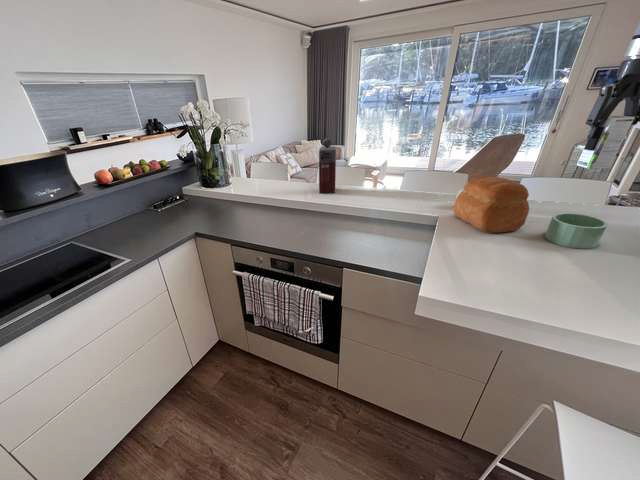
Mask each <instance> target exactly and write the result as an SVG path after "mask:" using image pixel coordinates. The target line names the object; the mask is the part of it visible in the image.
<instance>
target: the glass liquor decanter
mask: <svg viewBox="0 0 640 480" xmlns="http://www.w3.org/2000/svg"><path fill="white" fill-rule="evenodd" d="M322 143H323V144H322V145H323V146H320V147H319V148H318V194H319V195H321V194H322V195H323V194H336V176H337V175H336V174H337V173H336V171H337V169H336V168H337V165H336V164H337V148H336V146H335V145H334V146H333V145H332V140H331V138H324V140H323V141H322Z"/></svg>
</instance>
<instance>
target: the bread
mask: <svg viewBox="0 0 640 480" xmlns="http://www.w3.org/2000/svg"><path fill="white" fill-rule="evenodd" d="M463 188H464V190H463V191H462V192H461V193H460V194H459V196H458V197H457V199H456V201H455V200H454V204H453V214H454V215H455V216H456V217H457V218H459V219H460V220H463V221H464V222H465V223H468V224H470V225H471V226H472V227H473V228H476V229H478V230H479V231H482V232H485V233H491V234H492V233H493V234H496V233H509V232H513V231H518V230H520V229H521V228H523V226H524V225H525V223H526V221H527V218H528V215H529V212H530V206H529V201H528V198H529V196H530V194H529V190H528V188H527V187H526V186H525V185H524V184H522V183H518V182H516V181H514V180H511V179H508V178H505V177H499V176H496V175H482V176H481V175H479V176H476V177H474V178H472V179H470V180H469V181H467V182H466V184H465V185H463Z"/></svg>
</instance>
